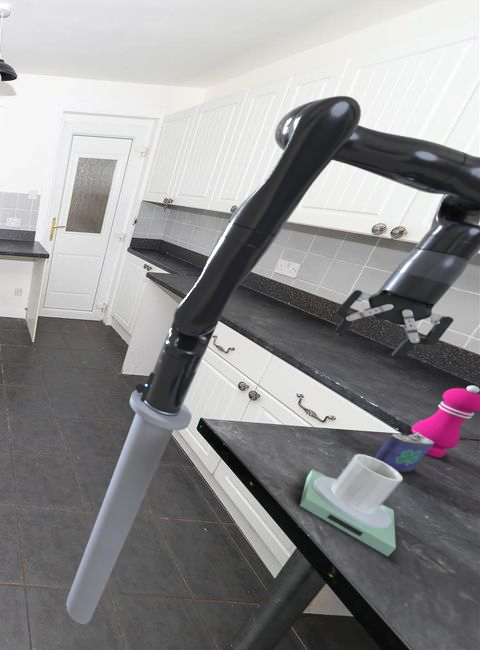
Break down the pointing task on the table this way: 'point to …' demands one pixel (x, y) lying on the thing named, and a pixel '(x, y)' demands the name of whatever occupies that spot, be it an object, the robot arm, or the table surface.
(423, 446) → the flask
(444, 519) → the table surface
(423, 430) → the pepper mill
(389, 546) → the scale
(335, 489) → the cup
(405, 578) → the table surface
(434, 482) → the table surface
